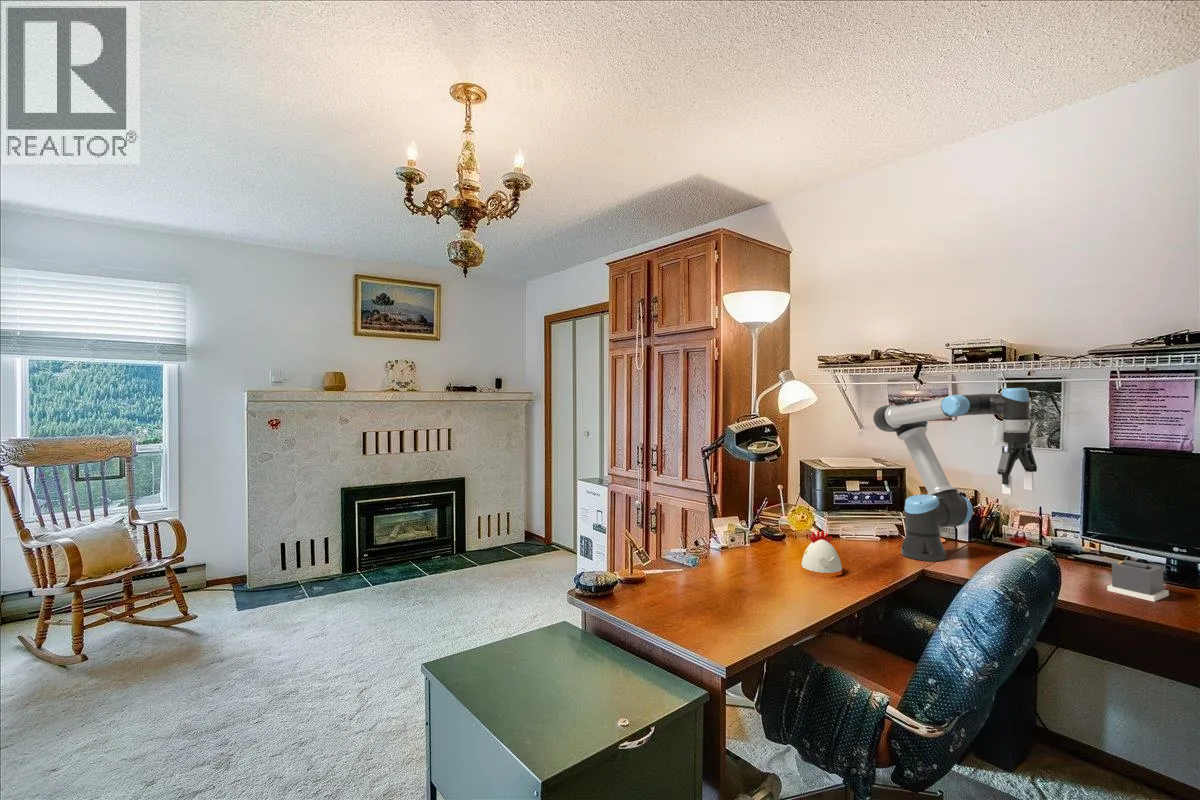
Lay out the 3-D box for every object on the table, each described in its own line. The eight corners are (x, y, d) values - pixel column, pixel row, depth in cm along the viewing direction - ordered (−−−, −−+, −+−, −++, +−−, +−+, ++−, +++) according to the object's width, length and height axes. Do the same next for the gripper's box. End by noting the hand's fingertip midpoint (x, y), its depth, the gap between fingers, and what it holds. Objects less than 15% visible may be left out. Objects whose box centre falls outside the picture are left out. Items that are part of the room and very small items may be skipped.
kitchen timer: (796, 566, 207) (795, 526, 207) (832, 565, 207) (831, 525, 207) (810, 578, 194) (808, 536, 194) (848, 577, 193) (847, 534, 193)
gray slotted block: (1150, 595, 165) (1149, 571, 165) (1112, 586, 173) (1111, 563, 173) (1163, 589, 169) (1162, 566, 169) (1125, 581, 177) (1124, 559, 177)
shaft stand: (1107, 590, 173) (1106, 560, 173) (1122, 585, 178) (1121, 555, 178) (1154, 601, 164) (1153, 570, 163) (1168, 595, 168) (1167, 564, 168)
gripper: (1008, 434, 183) (1009, 497, 183) (1047, 430, 194) (1049, 489, 194) (984, 433, 190) (985, 493, 190) (1023, 429, 201) (1025, 486, 201)
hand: (1018, 491), depth 192 cm, fingers open, 13 cm apart
